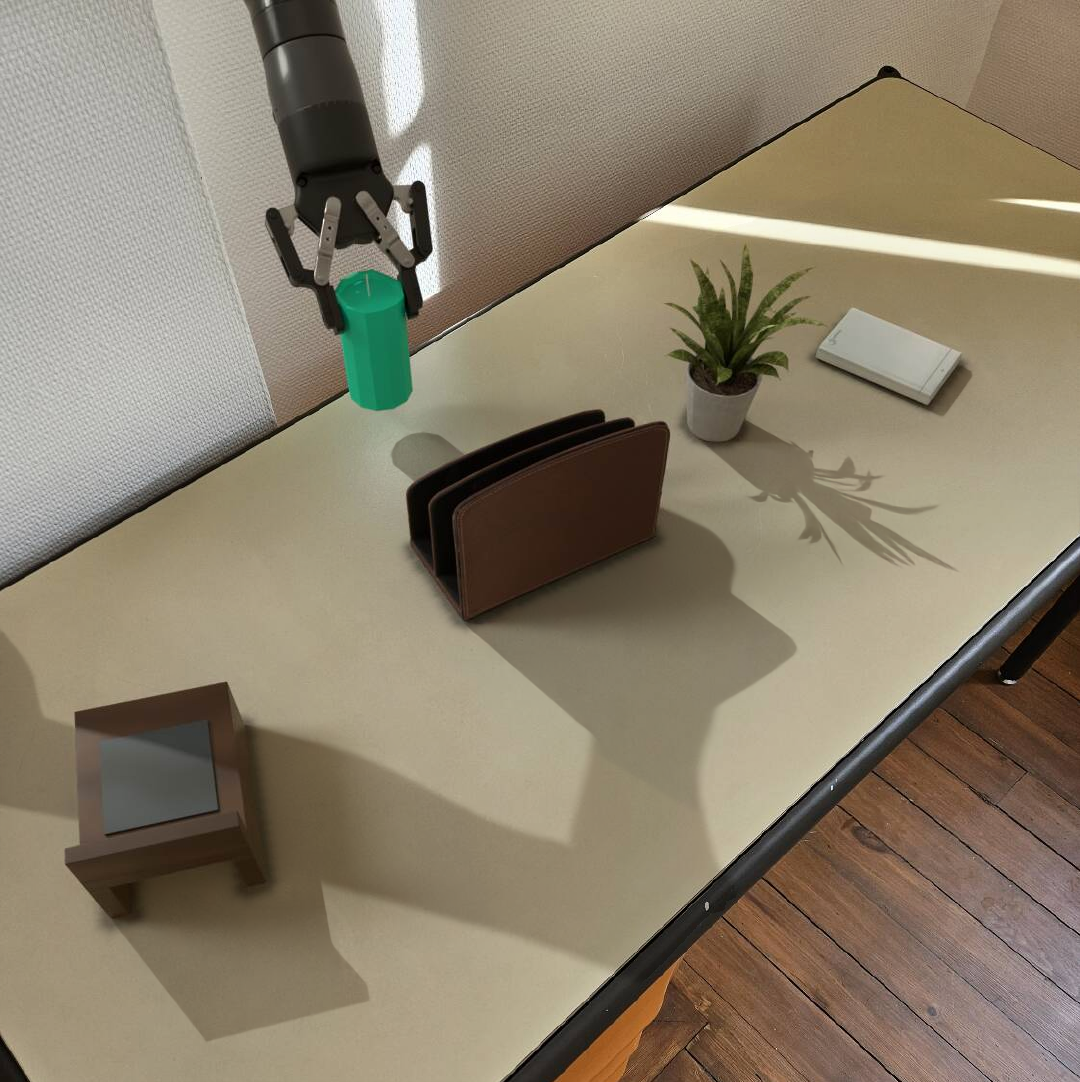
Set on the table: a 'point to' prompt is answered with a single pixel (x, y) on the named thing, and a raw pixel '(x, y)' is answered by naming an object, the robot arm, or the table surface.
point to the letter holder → (537, 506)
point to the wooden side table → (162, 792)
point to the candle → (375, 340)
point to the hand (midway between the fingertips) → (377, 324)
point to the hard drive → (889, 355)
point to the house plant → (731, 351)
